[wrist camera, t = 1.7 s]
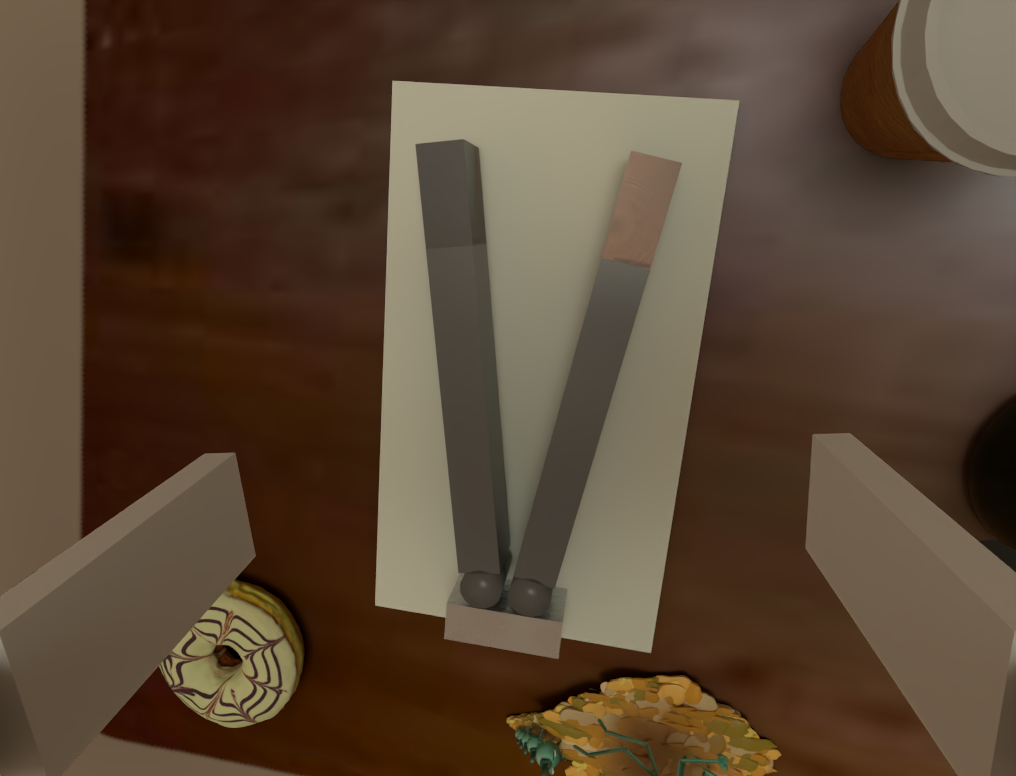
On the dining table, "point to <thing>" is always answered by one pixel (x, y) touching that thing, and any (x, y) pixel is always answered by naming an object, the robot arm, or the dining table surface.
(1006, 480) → the beer bottle
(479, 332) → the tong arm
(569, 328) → the tong mat
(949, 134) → the disposable coffee cup
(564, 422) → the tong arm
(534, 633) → the tong hinge cap
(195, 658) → the decorated donut
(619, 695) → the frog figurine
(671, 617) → the dining table surface
